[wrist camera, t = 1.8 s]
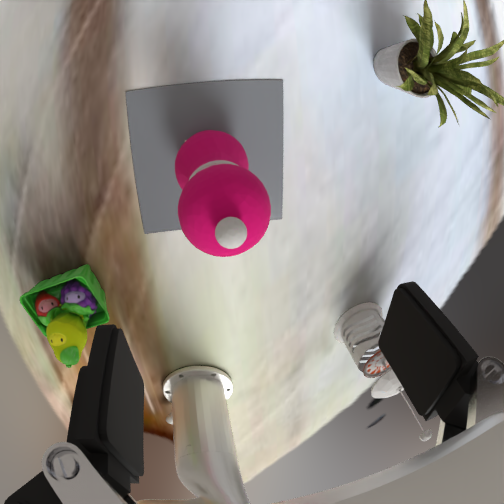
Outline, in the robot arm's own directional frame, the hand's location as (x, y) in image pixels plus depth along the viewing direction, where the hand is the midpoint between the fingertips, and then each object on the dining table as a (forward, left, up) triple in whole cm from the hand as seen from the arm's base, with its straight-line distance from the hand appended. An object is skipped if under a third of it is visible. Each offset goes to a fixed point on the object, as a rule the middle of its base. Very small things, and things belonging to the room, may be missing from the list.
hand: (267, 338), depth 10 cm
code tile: (0, 0, -28) cm, 28 cm away
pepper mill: (0, 0, -28) cm, 28 cm away
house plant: (+24, -12, -28) cm, 39 cm away
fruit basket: (-25, +7, -28) cm, 38 cm away
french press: (-9, -37, -28) cm, 47 cm away
